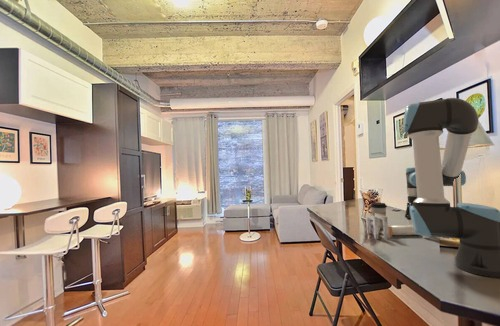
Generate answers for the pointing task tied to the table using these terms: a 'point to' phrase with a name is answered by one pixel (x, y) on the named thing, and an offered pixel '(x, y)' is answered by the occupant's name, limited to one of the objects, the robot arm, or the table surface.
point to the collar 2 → (385, 224)
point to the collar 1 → (375, 224)
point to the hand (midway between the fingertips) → (418, 234)
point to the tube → (401, 230)
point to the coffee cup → (379, 211)
